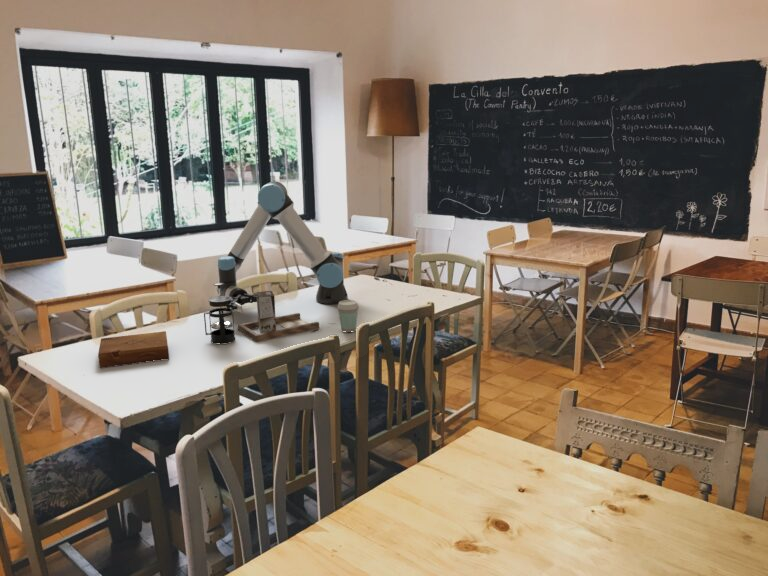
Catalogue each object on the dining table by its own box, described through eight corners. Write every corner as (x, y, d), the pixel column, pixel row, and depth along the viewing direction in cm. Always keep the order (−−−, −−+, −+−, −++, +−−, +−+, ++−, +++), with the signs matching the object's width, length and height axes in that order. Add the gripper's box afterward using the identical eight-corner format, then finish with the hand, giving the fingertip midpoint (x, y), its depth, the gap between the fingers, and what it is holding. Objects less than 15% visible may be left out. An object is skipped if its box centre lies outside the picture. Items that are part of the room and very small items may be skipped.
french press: (236, 335, 254) (232, 279, 249) (237, 342, 246) (233, 285, 240) (206, 338, 252) (201, 281, 246) (206, 345, 243) (201, 287, 237)
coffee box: (276, 334, 255) (274, 295, 251) (260, 336, 253) (258, 297, 249) (274, 327, 264) (271, 290, 260) (258, 329, 262) (256, 291, 258)
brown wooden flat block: (100, 370, 221) (97, 354, 220) (102, 353, 238) (100, 338, 237) (169, 360, 229) (167, 345, 227) (167, 344, 246) (165, 330, 244)
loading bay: (298, 318, 276) (298, 312, 276) (319, 328, 262) (319, 322, 261) (237, 330, 261) (237, 324, 260) (256, 341, 246) (255, 335, 246)
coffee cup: (360, 327, 262) (359, 299, 259) (357, 334, 254) (356, 305, 251) (339, 327, 263) (339, 299, 260) (336, 334, 255) (335, 305, 252)
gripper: (263, 299, 287) (284, 310, 270) (210, 308, 273) (228, 320, 257) (262, 283, 285) (283, 292, 268) (208, 291, 272) (227, 302, 255)
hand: (256, 306), depth 262 cm, fingers open, 13 cm apart
